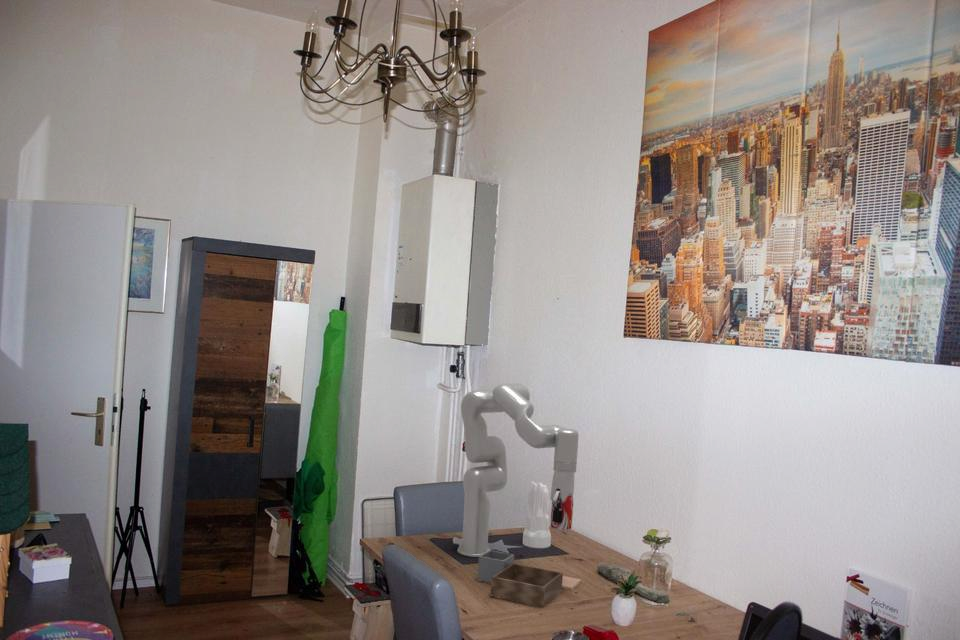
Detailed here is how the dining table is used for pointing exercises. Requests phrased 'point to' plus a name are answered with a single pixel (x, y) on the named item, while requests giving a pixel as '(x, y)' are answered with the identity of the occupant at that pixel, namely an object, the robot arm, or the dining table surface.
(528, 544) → the decorative vase
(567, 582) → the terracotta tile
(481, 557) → the charcoal crate
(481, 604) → the dining table surface
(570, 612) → the dining table surface
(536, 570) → the walnut crate
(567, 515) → the soda can
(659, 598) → the long grey stone
